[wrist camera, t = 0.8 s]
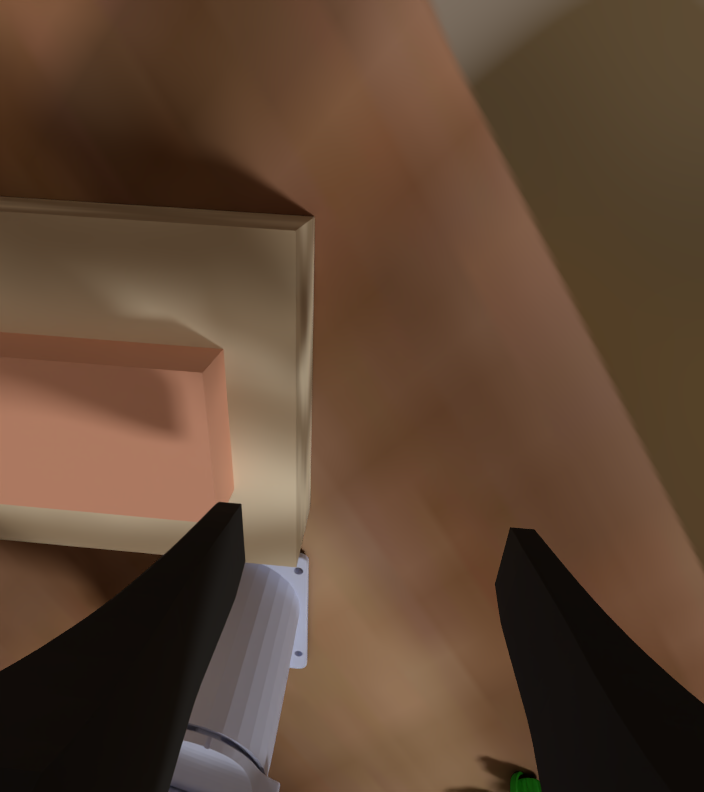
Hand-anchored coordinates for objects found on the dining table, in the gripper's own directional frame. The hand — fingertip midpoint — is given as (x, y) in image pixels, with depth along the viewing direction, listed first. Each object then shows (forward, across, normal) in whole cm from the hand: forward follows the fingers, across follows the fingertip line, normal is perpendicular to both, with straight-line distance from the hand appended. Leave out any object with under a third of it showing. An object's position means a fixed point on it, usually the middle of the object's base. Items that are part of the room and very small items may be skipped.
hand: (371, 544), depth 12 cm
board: (+9, +10, 0) cm, 14 cm away
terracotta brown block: (+5, +10, 0) cm, 11 cm away
